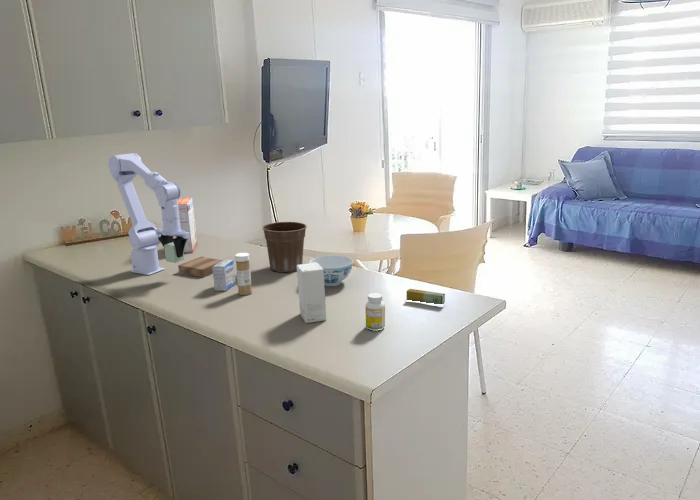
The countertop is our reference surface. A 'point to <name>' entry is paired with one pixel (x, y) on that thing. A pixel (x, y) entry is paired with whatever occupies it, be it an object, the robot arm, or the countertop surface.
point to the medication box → (425, 296)
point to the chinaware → (334, 268)
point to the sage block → (172, 253)
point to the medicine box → (224, 275)
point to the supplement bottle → (375, 312)
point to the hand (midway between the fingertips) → (174, 255)
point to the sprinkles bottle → (243, 273)
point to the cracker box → (187, 222)
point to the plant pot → (285, 245)
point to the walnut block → (198, 267)
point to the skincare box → (311, 292)
